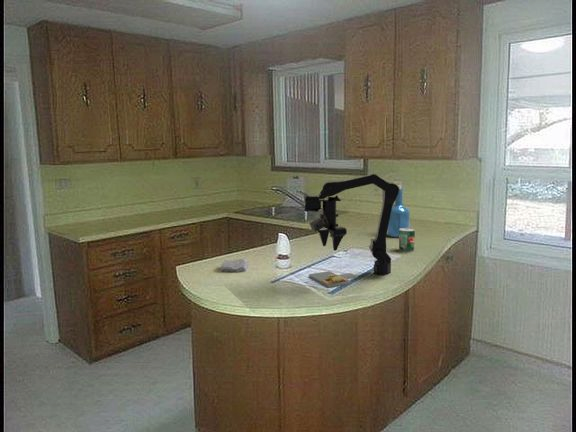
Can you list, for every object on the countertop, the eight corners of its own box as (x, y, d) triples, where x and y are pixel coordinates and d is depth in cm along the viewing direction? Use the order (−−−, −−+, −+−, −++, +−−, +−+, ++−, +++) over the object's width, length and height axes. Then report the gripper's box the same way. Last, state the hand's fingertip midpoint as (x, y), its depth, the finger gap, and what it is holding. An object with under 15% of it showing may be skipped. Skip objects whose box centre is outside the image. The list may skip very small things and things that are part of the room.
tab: (350, 275, 201) (350, 272, 201) (359, 279, 195) (359, 277, 194) (337, 277, 198) (337, 274, 198) (346, 281, 192) (346, 279, 192)
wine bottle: (412, 238, 274) (413, 186, 269) (389, 238, 274) (389, 186, 269) (406, 233, 287) (407, 184, 283) (384, 233, 288) (385, 184, 283)
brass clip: (336, 283, 190) (336, 274, 189) (341, 286, 186) (341, 276, 185) (327, 285, 188) (327, 275, 188) (332, 288, 185) (332, 278, 184)
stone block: (247, 275, 210) (248, 265, 219) (246, 266, 208) (247, 256, 218) (220, 277, 210) (222, 267, 219) (219, 267, 208) (221, 258, 217)
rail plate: (329, 275, 201) (329, 270, 200) (350, 286, 186) (350, 281, 185) (308, 278, 197) (308, 273, 196) (328, 290, 181) (328, 284, 181)
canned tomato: (414, 252, 240) (415, 230, 238) (399, 251, 241) (399, 230, 239) (414, 248, 247) (414, 228, 245) (398, 248, 249) (398, 227, 247)
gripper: (302, 210, 202) (302, 246, 204) (323, 216, 185) (323, 255, 187) (325, 208, 206) (325, 243, 209) (347, 214, 189) (347, 251, 192)
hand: (329, 248), depth 199 cm, fingers open, 9 cm apart
